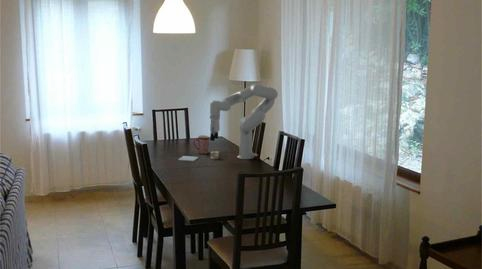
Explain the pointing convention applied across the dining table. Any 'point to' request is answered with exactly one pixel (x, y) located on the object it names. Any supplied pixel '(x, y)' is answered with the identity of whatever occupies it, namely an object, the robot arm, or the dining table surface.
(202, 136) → the mug
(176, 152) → the dining table surface
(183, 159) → the pad
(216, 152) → the maple block
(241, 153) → the robot arm
